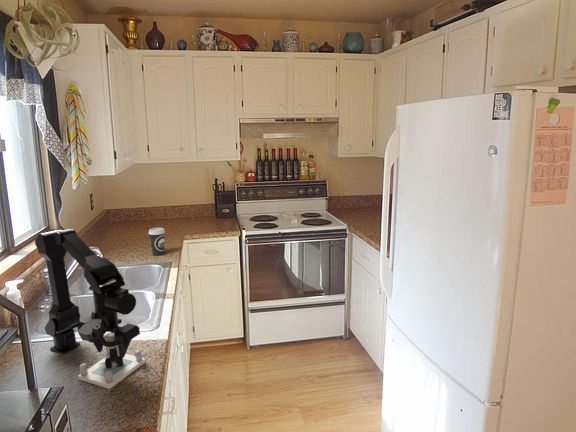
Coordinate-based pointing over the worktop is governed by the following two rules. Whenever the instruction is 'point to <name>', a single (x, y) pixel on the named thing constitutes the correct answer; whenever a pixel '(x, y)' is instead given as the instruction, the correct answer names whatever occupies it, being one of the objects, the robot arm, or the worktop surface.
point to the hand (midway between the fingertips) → (111, 354)
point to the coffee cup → (157, 241)
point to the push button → (111, 352)
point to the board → (116, 377)
